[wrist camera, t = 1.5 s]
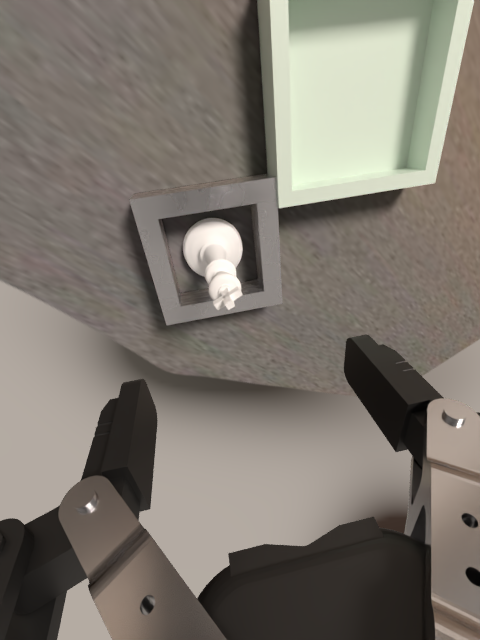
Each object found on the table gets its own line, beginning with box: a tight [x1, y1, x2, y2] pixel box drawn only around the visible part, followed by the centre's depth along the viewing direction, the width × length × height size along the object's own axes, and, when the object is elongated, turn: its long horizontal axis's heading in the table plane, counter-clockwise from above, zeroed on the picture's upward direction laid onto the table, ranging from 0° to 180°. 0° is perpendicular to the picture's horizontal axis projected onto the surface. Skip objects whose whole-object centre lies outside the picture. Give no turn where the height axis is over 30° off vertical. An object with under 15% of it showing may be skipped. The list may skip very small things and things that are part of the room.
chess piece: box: [183, 218, 243, 310], centre depth 21 cm, size 5×5×10 cm
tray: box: [257, 0, 474, 208], centre depth 20 cm, size 12×12×3 cm
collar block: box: [129, 173, 282, 325], centre depth 24 cm, size 10×10×2 cm
